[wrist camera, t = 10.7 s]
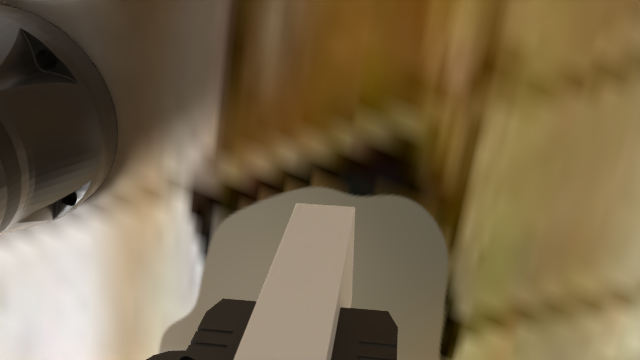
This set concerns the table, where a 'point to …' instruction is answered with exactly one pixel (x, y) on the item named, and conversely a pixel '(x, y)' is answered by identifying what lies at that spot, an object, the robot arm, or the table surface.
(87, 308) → the table surface
